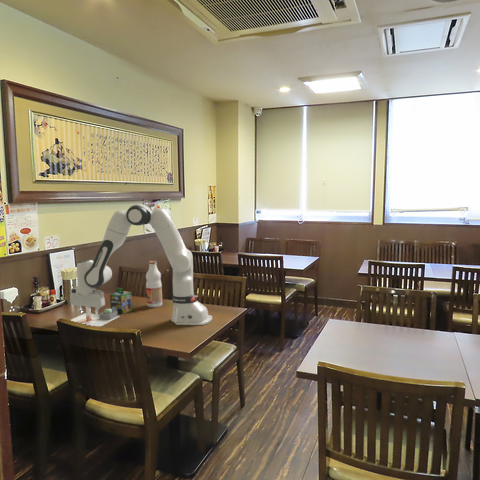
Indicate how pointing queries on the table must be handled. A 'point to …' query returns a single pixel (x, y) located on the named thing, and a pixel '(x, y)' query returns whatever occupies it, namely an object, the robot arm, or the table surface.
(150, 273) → the fruit juice
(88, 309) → the marker
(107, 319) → the board
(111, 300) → the chalk box
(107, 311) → the button
